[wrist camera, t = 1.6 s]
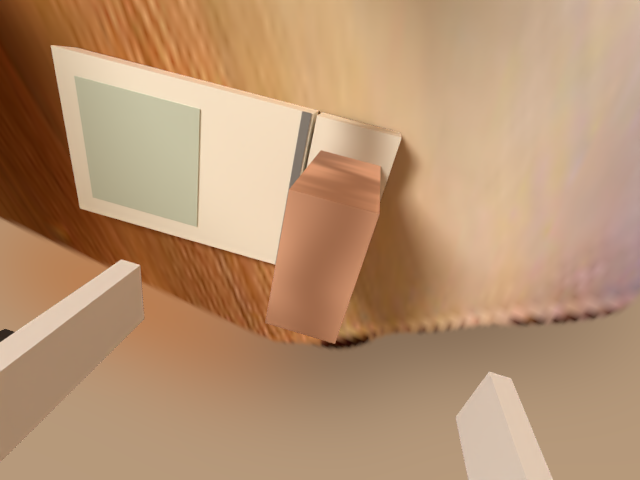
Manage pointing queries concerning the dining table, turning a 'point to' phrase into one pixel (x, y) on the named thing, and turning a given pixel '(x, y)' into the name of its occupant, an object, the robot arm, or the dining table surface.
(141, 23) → the dining table surface
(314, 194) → the stub
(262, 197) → the white flat block
